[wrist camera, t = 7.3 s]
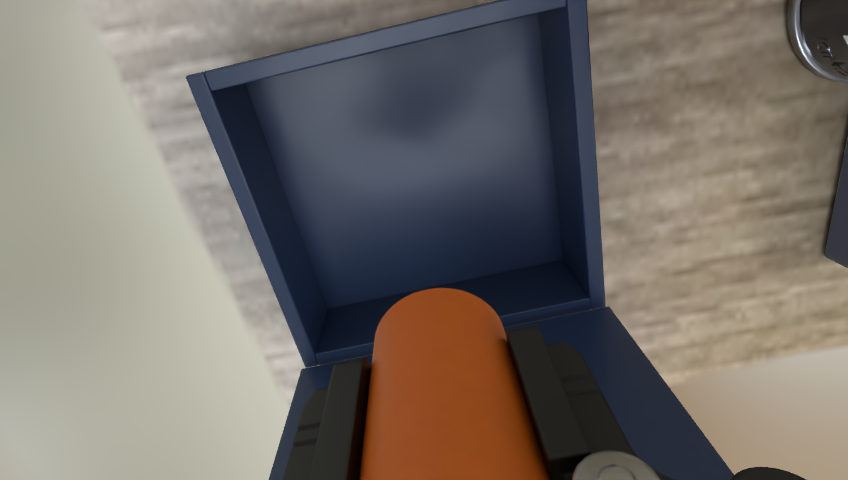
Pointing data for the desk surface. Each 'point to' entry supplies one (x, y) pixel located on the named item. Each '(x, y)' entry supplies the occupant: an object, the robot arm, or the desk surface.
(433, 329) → the glue stick
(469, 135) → the pencil box
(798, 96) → the desk surface
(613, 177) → the desk surface
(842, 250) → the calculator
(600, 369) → the lid
